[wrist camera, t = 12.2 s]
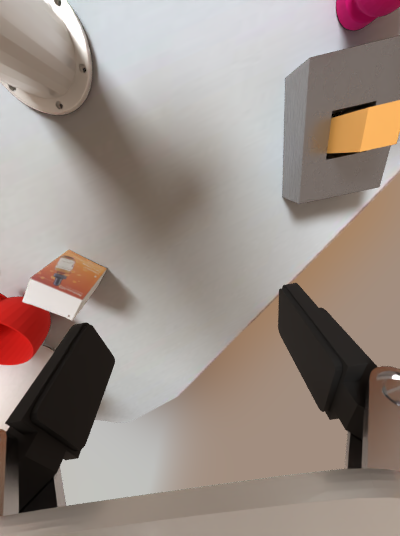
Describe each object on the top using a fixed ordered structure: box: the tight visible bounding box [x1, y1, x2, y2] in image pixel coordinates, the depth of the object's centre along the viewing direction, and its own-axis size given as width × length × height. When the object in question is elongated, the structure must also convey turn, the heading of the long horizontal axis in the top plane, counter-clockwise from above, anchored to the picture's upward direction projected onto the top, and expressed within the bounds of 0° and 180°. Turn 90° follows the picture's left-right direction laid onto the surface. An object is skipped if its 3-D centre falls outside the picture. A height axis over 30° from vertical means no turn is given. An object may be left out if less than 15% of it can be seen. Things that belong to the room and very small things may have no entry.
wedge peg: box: [327, 100, 400, 153], centre depth 25 cm, size 4×4×11 cm
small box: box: [22, 250, 107, 320], centre depth 35 cm, size 8×6×10 cm
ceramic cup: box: [0, 293, 51, 365], centre depth 38 cm, size 13×17×10 cm
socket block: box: [282, 36, 400, 204], centre depth 27 cm, size 16×12×6 cm
